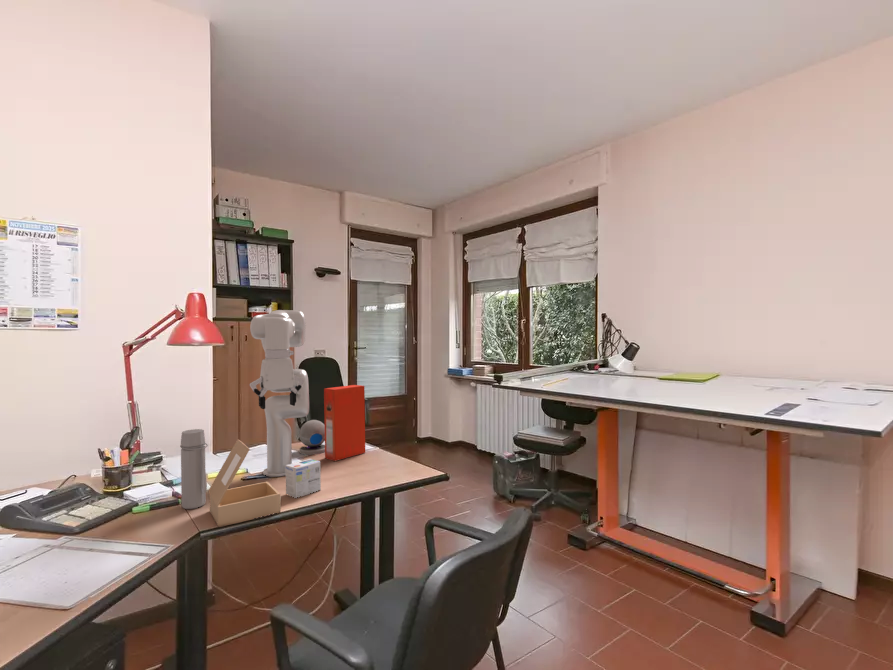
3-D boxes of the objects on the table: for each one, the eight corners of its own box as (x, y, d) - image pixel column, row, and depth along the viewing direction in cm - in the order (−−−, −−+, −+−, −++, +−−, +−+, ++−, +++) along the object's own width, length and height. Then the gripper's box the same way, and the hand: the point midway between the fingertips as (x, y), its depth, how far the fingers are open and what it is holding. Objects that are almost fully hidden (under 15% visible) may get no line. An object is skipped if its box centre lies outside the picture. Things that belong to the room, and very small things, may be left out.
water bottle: (175, 508, 148) (174, 432, 148) (196, 500, 156) (195, 428, 155) (195, 512, 145) (194, 435, 145) (216, 503, 152) (215, 429, 152)
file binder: (324, 458, 206) (324, 388, 206) (354, 450, 220) (353, 384, 219) (335, 461, 201) (335, 389, 201) (365, 453, 215) (364, 385, 214)
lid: (209, 491, 146) (207, 491, 146) (239, 439, 151) (237, 439, 151) (218, 506, 134) (216, 505, 134) (249, 448, 139) (248, 448, 139)
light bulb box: (310, 486, 169) (310, 457, 169) (321, 490, 165) (321, 461, 164) (284, 494, 161) (284, 464, 160) (295, 499, 156) (295, 468, 156)
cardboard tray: (209, 511, 146) (209, 492, 146) (267, 498, 157) (267, 481, 157) (218, 527, 134) (218, 507, 134) (280, 512, 145) (280, 493, 145)
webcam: (323, 446, 228) (323, 416, 228) (330, 452, 217) (330, 421, 216) (297, 449, 221) (296, 419, 221) (302, 456, 210) (302, 423, 210)
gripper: (299, 353, 157) (299, 402, 157) (246, 355, 146) (247, 408, 146) (307, 354, 151) (307, 405, 151) (253, 356, 140) (253, 411, 141)
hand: (277, 406), depth 149 cm, fingers open, 9 cm apart
